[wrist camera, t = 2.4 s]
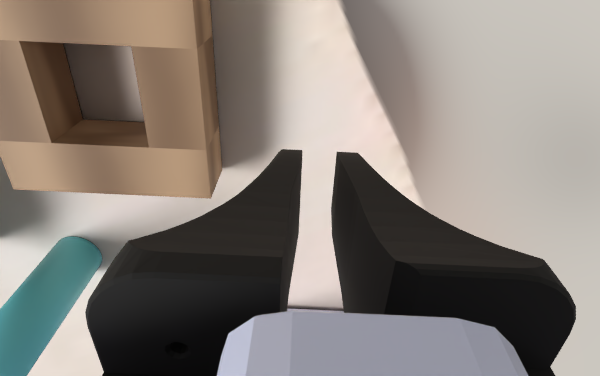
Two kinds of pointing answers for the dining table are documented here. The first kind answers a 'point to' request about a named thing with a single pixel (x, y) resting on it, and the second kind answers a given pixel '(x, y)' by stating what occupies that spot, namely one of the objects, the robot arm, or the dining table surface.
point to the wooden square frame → (110, 134)
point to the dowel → (44, 303)
